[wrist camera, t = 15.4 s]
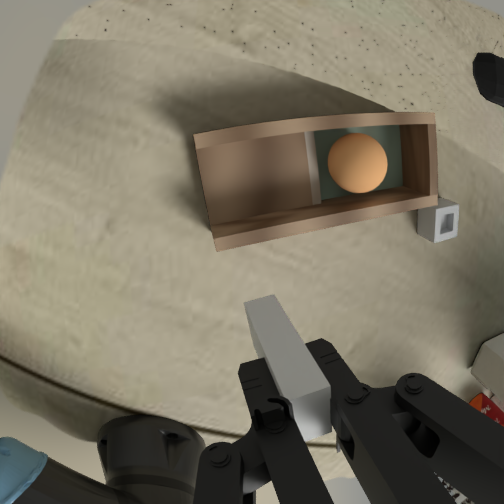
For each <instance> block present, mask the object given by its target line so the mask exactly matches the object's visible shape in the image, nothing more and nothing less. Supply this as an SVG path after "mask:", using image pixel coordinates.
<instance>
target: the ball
mask: <svg viewBox="0 0 504 504" xmlns="http://www.w3.org/2000/svg"><path fill="white" fill-rule="evenodd" d="M387 165H388V164H387V157H386V154H385V151H384V149H383V148H382V146H381V145H380V144H379V143H378V142H377V141H376V140H375V139H374V138H372V137H371V136H368V135H366V134H362V133H350V134H347V135H344V136H342V137H341V138H339V139H338V140H337V141H336V142H335V143H334V144H333V145H332V147H331V149H330V151H329V155H328V169H329V172H330V175H331V177H332V178H333V180H334V181H335V182H336V183H337V185H339V186H340V187H341V188H343V189H344V190H346V191H349V192H352V193H365V192H369V191H371V190H373V189H375V188H376V187H377V186H379V185H380V183H381V182H382V181H383V179H384V177H385V175H386V172H387Z"/></svg>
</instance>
